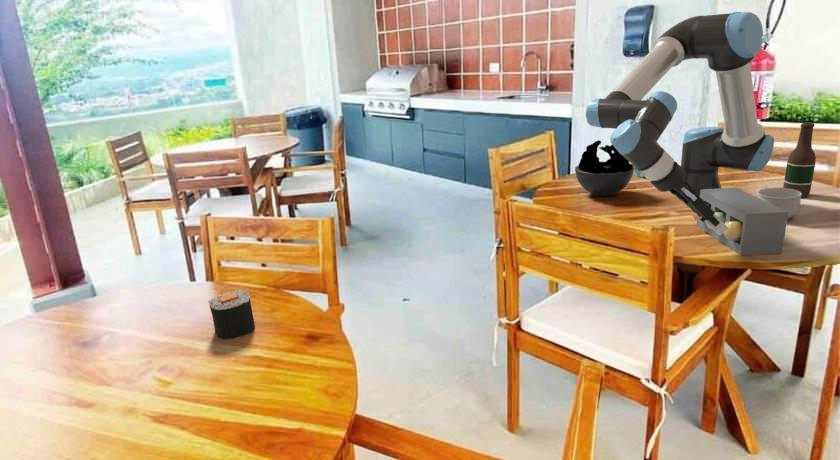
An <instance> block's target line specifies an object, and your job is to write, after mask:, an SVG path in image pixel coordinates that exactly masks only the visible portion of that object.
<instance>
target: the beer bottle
mask: <svg viewBox="0 0 840 460" xmlns="http://www.w3.org/2000/svg"><path fill="white" fill-rule="evenodd" d="M814 128H815V123H813V122H803V123H801V124H800V131H799V136H798V140H797V144H796V146H795V148H794V149H793V150H792V151H791V152H790V154H789V156H788V158H787V162H786V168H785V174H784V180H783V185H782V186H783V187H782V188H789V189H794V190H797V191H800V192H801V193H802V195H801V199H802V198H805V199H806V198H807V197H809V195H811V194H810V192H811V190H812V184H813V178H814V173H815V169H816V168H815V167H816V161H817V160H816V158H817V156H816V153H815V151H814V149H813V148H812V145H813V144H812V142H813V141H812V140H813V131H814Z"/></svg>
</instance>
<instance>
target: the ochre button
mask: <svg viewBox="0 0 840 460" xmlns="http://www.w3.org/2000/svg"><path fill="white" fill-rule="evenodd" d="M725 225H726V226H727V227H728V228H729V229H727V230H726V231H725V232H724V236H725V237H726V238H727V239H735V238H741V234H742V226H743V222H741V221H732V222H726V223H725Z"/></svg>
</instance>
